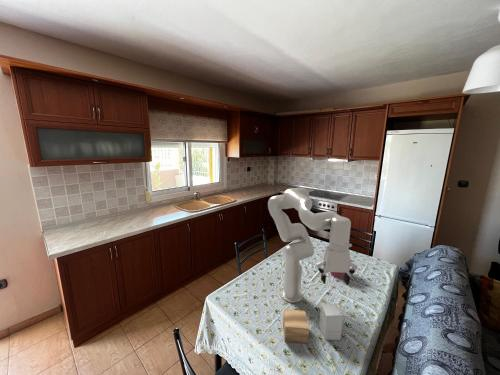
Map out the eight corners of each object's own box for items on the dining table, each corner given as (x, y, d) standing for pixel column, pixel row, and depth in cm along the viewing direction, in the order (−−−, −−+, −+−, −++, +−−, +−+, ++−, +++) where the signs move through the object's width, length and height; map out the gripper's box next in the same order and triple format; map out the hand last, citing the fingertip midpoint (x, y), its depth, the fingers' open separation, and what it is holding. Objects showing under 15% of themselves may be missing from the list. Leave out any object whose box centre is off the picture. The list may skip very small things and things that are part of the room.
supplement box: (333, 326, 99) (336, 303, 97) (341, 340, 92) (343, 315, 90) (318, 326, 99) (320, 303, 97) (324, 340, 92) (327, 315, 89)
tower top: (283, 316, 100) (283, 309, 99) (304, 318, 99) (305, 310, 98) (285, 334, 90) (285, 326, 89) (308, 336, 89) (309, 328, 89)
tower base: (282, 323, 101) (283, 316, 100) (303, 325, 100) (304, 318, 99) (284, 342, 91) (285, 334, 90) (308, 344, 90) (308, 336, 89)
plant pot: (344, 269, 147) (346, 252, 144) (352, 281, 133) (354, 263, 130) (324, 267, 148) (325, 251, 146) (329, 280, 134) (331, 262, 132)
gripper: (355, 242, 91) (351, 278, 94) (315, 241, 92) (312, 276, 95) (363, 251, 83) (359, 289, 86) (320, 249, 84) (316, 287, 87)
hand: (334, 282), depth 90 cm, fingers open, 9 cm apart
